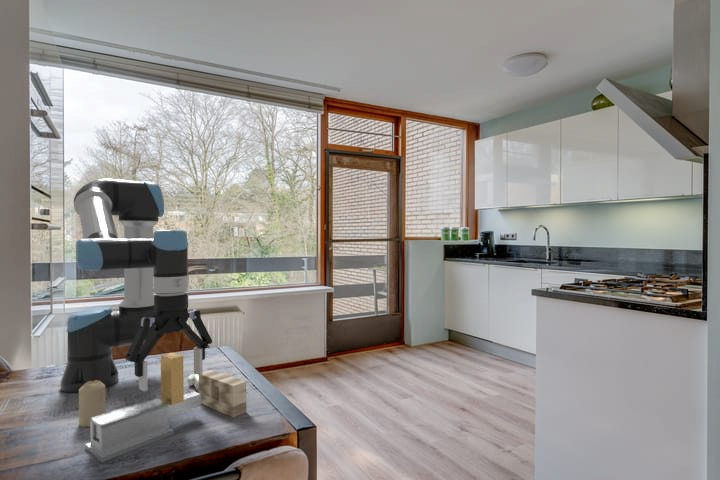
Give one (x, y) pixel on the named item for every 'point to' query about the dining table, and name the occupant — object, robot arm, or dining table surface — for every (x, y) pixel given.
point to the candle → (91, 401)
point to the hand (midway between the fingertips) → (172, 381)
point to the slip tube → (174, 387)
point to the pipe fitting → (193, 380)
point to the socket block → (222, 392)
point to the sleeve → (128, 429)
